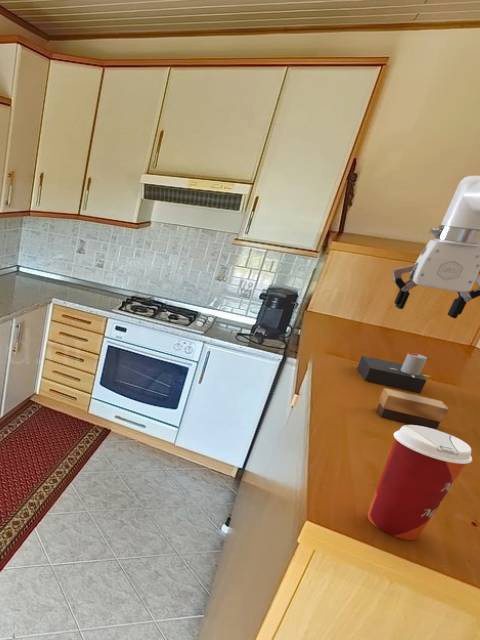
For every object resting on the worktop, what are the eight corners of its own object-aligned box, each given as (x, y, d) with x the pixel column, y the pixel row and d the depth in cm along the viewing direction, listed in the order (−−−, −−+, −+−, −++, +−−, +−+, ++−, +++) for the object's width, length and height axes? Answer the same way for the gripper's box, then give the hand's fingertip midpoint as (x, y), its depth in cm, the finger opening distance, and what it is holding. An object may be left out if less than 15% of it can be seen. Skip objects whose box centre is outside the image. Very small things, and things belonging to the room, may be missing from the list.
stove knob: (417, 372, 120) (425, 354, 119) (421, 376, 117) (429, 358, 116) (398, 368, 122) (406, 350, 120) (402, 372, 119) (410, 354, 117)
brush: (431, 422, 101) (441, 401, 99) (438, 431, 97) (449, 409, 96) (374, 408, 105) (383, 387, 104) (379, 416, 102) (388, 395, 100)
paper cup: (439, 553, 63) (491, 460, 58) (369, 534, 65) (413, 443, 60) (412, 516, 69) (456, 431, 64) (349, 500, 72) (387, 417, 67)
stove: (415, 380, 125) (421, 367, 124) (428, 395, 116) (435, 381, 115) (357, 367, 131) (362, 355, 129) (365, 381, 121) (370, 367, 120)
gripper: (415, 232, 106) (383, 307, 112) (521, 244, 99) (480, 324, 105) (404, 229, 112) (374, 301, 118) (503, 241, 105) (466, 316, 111)
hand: (424, 312), depth 112 cm, fingers open, 9 cm apart
